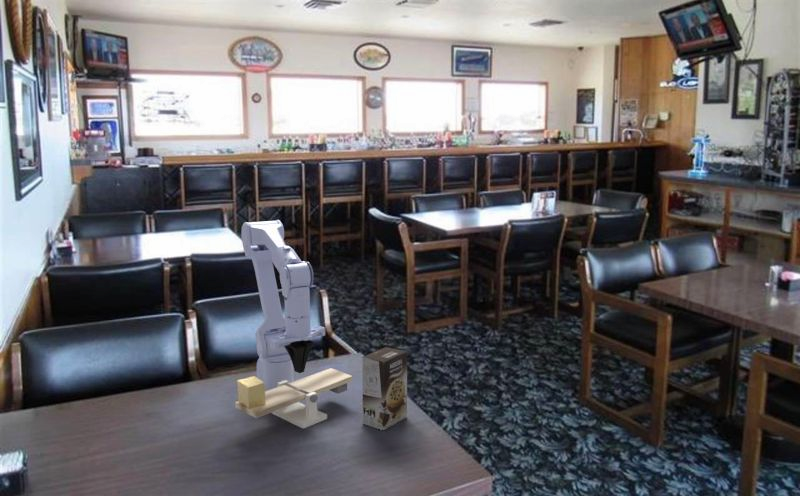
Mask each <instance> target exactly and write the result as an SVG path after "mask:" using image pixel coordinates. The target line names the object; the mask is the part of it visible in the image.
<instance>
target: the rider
mask: <svg viewBox="0 0 800 496" xmlns="http://www.w3.org/2000/svg"><path fill="white" fill-rule="evenodd" d="M236 382H237V396H238V397H237V399H238V400H237V402H238V401H239V402H240V403H241V404H242V405H244V406H245V407H246V408H248V409H251V408H255V407H258V406H261V405H265V404H266V402H265V383H264V382H263V381H261V380H260V379H258V378H257V376H254V375H253V376H249V377H246V378H241V379H238V380H236Z"/></svg>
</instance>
